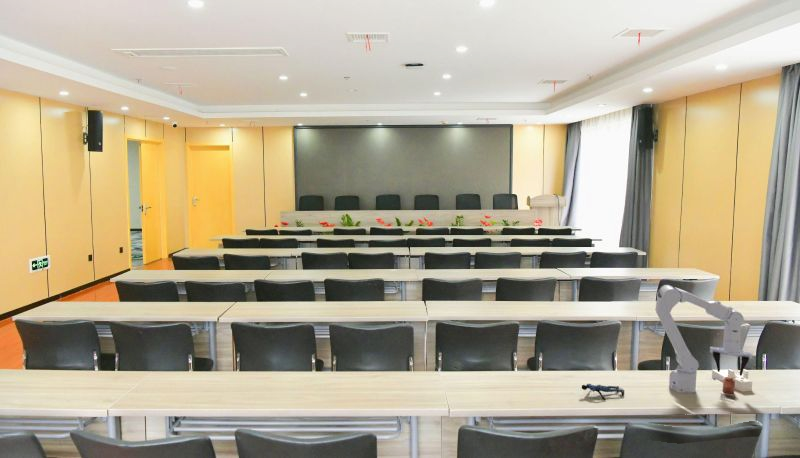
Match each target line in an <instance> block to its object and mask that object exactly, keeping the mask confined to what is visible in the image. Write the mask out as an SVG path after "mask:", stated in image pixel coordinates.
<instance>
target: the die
mask: <svg viewBox="0 0 800 458" xmlns="http://www.w3.org/2000/svg"><path fill="white" fill-rule="evenodd" d="M733 380H734V381H735V388H734V390H737V391H739V392H750V391H751V392H752V390H753V381H752V380H750V379H749V378H748V379H746V378H744V377H736V378H733Z"/></svg>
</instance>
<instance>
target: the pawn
mask: <svg viewBox="0 0 800 458" xmlns="http://www.w3.org/2000/svg"><path fill="white" fill-rule="evenodd" d="M722 389H723V393H726V394H734V392H735V381H734V380H733V378H731V377H725V379H723V381H722ZM723 393H722V394H723Z"/></svg>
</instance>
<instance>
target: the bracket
mask: <svg viewBox="0 0 800 458" xmlns="http://www.w3.org/2000/svg"><path fill="white" fill-rule="evenodd" d="M711 370H712V371H711V378H712V377H713V378H712V379H714V378H715V379H714V380H716V379H717V380H716V381H722V382H723V379H725V377H731V378H736V377H744V378H746V379H748V380H749V370H747V369H745V368H744V369H743V372H742V376H741V375H740V373H738V374H737V373H735V371H734V370H732V369H730V368H729V369H720V371H719V372H718V371H717V369H711Z"/></svg>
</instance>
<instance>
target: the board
mask: <svg viewBox="0 0 800 458" xmlns="http://www.w3.org/2000/svg"><path fill="white" fill-rule="evenodd" d="M735 399H736V391H734V394H726V393H723V388H722V389H721V393H720V397H719V401H718V402H719V403H725V404H730V405H735Z"/></svg>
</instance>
